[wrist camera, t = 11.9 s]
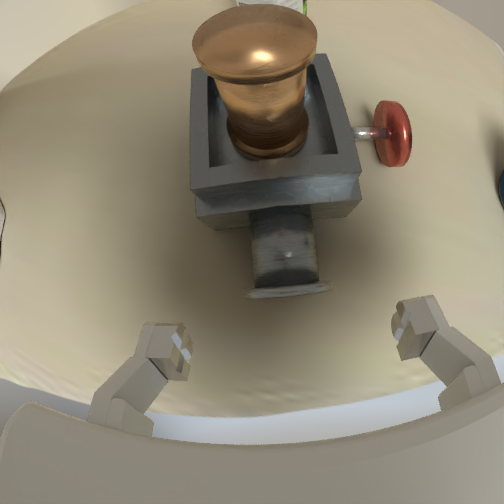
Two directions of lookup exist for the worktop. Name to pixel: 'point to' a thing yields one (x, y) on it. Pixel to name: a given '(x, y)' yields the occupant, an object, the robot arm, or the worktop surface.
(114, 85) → the worktop surface
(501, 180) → the soda can
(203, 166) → the valve body
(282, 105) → the copper flared cylinder
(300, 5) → the syrup box
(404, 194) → the worktop surface
